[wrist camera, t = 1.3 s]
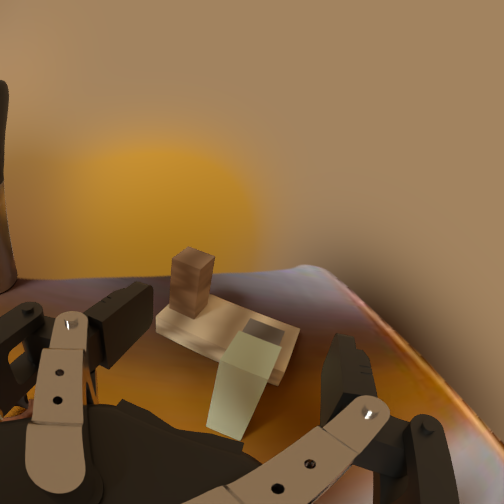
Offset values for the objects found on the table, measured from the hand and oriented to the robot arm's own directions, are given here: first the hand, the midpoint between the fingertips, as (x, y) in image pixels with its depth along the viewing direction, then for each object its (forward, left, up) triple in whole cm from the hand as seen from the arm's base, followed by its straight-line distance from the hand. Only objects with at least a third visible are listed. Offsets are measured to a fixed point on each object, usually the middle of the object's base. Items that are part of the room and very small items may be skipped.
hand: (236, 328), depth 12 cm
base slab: (-5, +20, -21) cm, 29 cm away
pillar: (0, +8, -21) cm, 22 cm away
